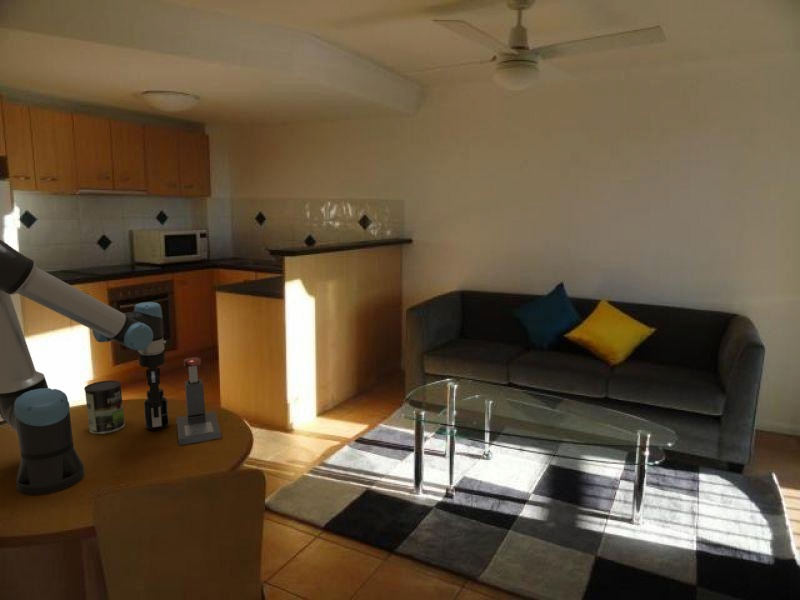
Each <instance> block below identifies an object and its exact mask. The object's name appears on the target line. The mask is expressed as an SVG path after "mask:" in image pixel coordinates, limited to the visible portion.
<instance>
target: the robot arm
mask: <svg viewBox="0 0 800 600" xmlns="http://www.w3.org/2000/svg"><path fill="white" fill-rule="evenodd" d="M17 294H19V295H20V296H22V297H24V298H26V299H27V300H30V301H32V302H35V303H36V304H38V305H40V306H43V307H45V308H46V309H49V310H51V311H53V312H55V313H56V314H59V315H62V316H63V317H66V318H68V319H69V320H72V321H73V322H76V323H78V324H80V325H82V326H84V327H86V328H88V329H90V330H92V335H93V338H94V339H95V341H96V342H98V343H109V342H112V341H113V342H115V343H118V344H119V345H120V344H121V345H123V346H125V347H126V348H128V349H130V350H132V351H133V350H135V351H137V352H138V353H139V354H138V361H139V363H138V364H139V366H140V367H143V368H146V371H145V372H146V378H147V385H148V386H149V390H150V398H151V406H149V408H151V414H152V427H158V426H162V420H161V407H160V401H159V388H160V384H161V382H160V380H161V377H160V376H161V369H160V368H159V367H160V366H163V365H164V364H165V363H166V353H165V351H164V350H165V344H166V343H167V341H166V339H165V340H164V328H163V325H164V324H163V313H162V312H163V311H162V306H161V304H159V303H158V302H153V301H147V302H140V303H136V304H135V305H134V309H133V311H129V312H122V311H120V310H118V309H116V308H114V307H113V306H110V305H108V304H106V303H104V302H103V301H101V300H99V299H97V298H95V297H94V296H91V295H89V294H87V292H83V291H82V290H80V289H78V288H77V287H75V286H73V285H70V284H69V283H67V282H65V281H63V280H62V279H60V278H58V277H56V276H54V275H52V274H50V273H48V272H47V271H45V270H43V269H40V268H39V267H37V265H36V261H34V260H33V259H31V258H29V257H28V256H26V255H24V254H22V253H21V252H20V251H18V250H16V249H15V248H13V247H12V246H11V245H9V244H8V243H7V242H5V241H3V240H2V239H0V418H1V419H2V420H3V421H4V422H6V423H7V424H8V425H9V426H11V428H12V429H13V430H14V431H15V432H16V434H17V436H18V437H17V438H18V443H19V444H18V445H19V450H20V457H21V459H20V463H19V468H18V471H17V475H16V479H15V484H16V490H17V491H18V493H20V494H23V495H27V496H39V495H48V494H52V493H56V492H57V493H58V492H60V491H62V490H65V489H67V488H70V487H72V486H73V485H76V484H77V483H78V482H80V481H81V480H82V479H83V478H84V475H85V466H84V463H83V461H82V459H81V458H80V456H79V454H78V452H77V451H76V448H75V446H74V437H73V430H72V422H71V412H70V410H71V409H70V408H71V407H70V406H71V405H70V402H69V399H68V396H67V394H66V393H65V392H64V391H62V390H60V389H57V388H53V389H52V388H49V385H48V383H47V380H46V377H45V374H44V373H42V372H40V371H37V370H36V368H35V364H34V362H33V358H32V356H31V352H30V350H29V347H28V345H27V341H26V338H25V336H24V332H23V330H22V327H21V324H20V323H21V322H20V319H19V317H18V315H17V311H16V309H15V308H16V307H15V306H14V303H13V302H14V301H13V300H12V297H11V296H13V295H17ZM147 368H148V369H147Z"/></svg>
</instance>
